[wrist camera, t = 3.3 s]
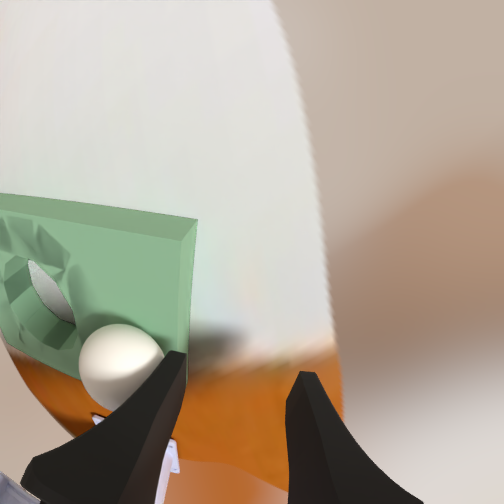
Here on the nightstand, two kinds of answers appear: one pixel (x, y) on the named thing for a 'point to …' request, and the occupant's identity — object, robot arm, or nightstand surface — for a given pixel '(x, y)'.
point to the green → (93, 275)
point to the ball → (117, 363)
